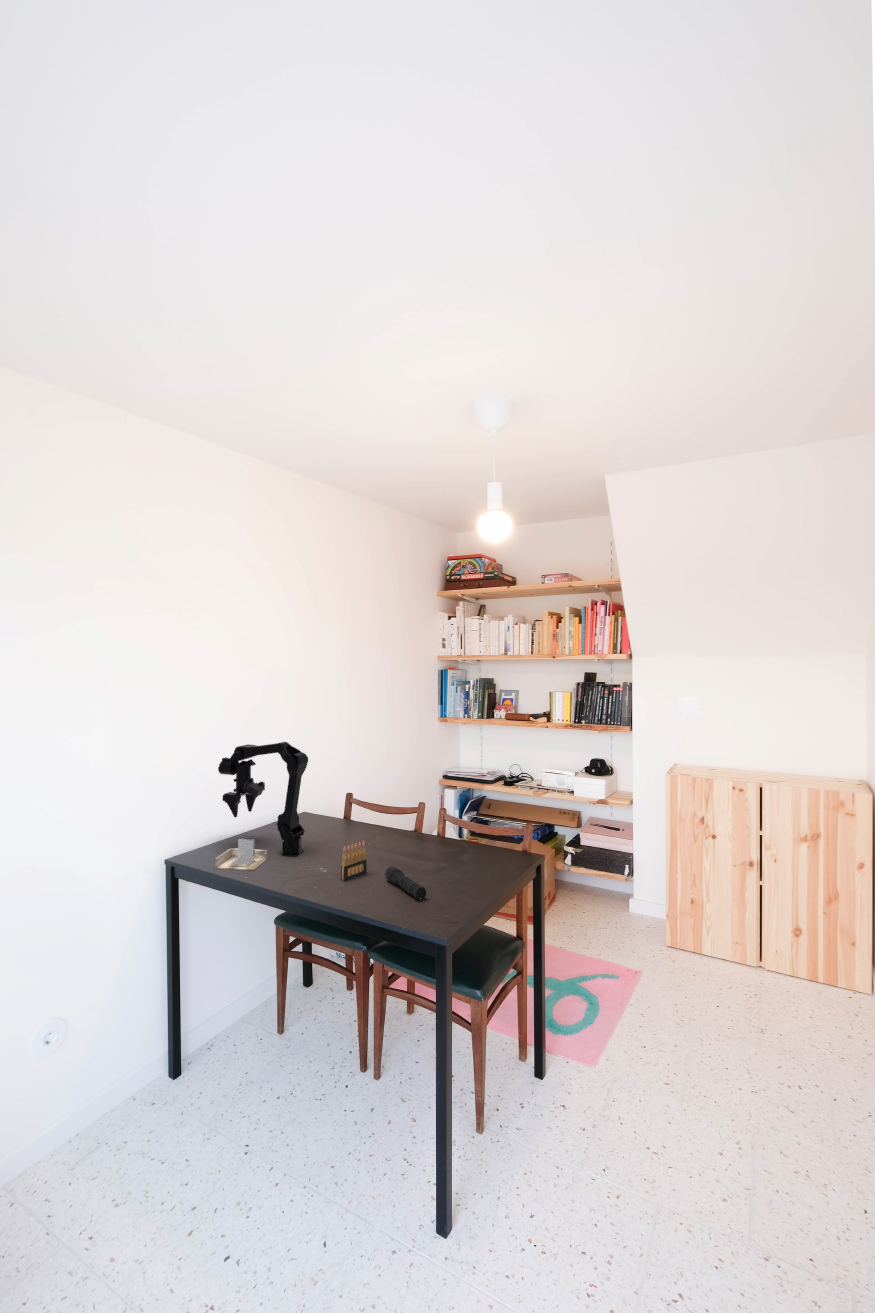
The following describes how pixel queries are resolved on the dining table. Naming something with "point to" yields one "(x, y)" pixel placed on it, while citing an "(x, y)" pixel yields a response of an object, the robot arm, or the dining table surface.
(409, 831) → the dining table surface
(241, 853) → the bracket
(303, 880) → the dining table surface
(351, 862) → the ammunition clip
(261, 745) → the robot arm
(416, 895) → the flashlight
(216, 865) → the tray
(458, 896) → the dining table surface
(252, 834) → the dining table surface
